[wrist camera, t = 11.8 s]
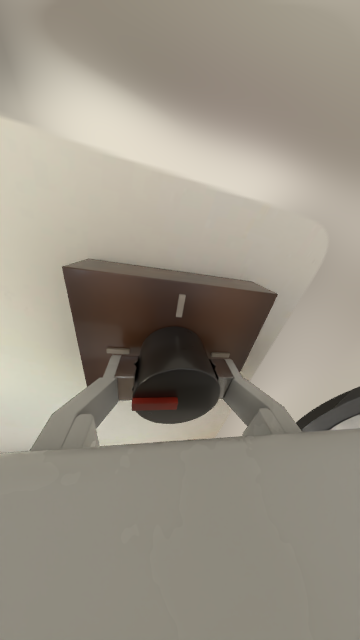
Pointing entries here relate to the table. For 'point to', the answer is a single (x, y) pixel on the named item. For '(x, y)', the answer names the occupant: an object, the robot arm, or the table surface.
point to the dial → (174, 377)
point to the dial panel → (160, 310)
